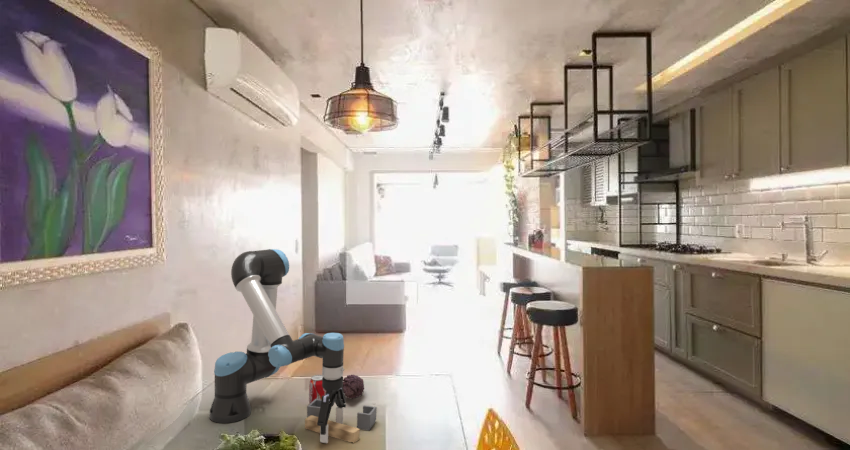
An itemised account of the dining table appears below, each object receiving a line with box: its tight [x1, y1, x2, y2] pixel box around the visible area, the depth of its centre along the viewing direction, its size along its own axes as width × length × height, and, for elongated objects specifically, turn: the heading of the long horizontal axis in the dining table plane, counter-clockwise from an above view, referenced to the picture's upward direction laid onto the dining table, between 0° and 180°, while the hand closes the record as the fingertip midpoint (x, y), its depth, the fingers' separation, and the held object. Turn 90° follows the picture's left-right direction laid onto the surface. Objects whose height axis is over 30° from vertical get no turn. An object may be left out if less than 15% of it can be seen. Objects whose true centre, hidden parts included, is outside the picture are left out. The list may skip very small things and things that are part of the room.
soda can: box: [308, 374, 326, 405], centre depth 198 cm, size 7×7×12 cm
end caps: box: [306, 399, 377, 431], centre depth 185 cm, size 26×7×6 cm, turn 77°
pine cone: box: [343, 374, 365, 399], centre depth 207 cm, size 18×10×10 cm, turn 179°
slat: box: [304, 415, 361, 444], centre depth 176 cm, size 22×4×4 cm, turn 64°
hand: (331, 433), depth 176 cm, fingers open, 13 cm apart
